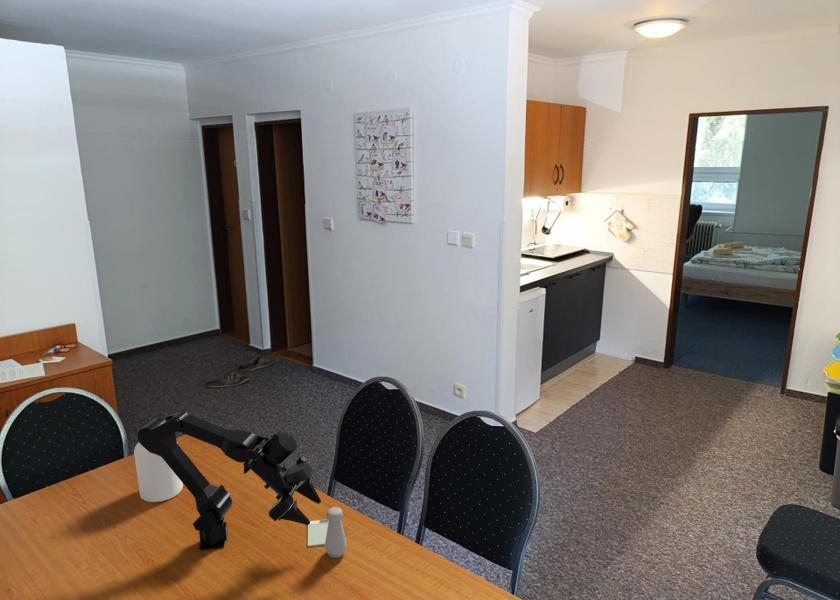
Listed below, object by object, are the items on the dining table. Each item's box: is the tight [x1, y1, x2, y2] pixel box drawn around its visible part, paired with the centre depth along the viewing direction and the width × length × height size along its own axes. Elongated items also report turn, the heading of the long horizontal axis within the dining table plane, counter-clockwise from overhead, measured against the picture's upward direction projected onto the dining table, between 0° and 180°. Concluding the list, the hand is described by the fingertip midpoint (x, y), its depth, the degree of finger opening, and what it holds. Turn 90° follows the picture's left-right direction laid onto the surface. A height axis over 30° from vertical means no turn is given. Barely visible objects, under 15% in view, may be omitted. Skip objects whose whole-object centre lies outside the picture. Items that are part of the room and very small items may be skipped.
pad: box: [307, 518, 328, 548], centre depth 161 cm, size 9×11×1 cm
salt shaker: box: [324, 506, 348, 559], centre depth 151 cm, size 6×6×13 cm
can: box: [133, 442, 184, 503], centre depth 178 cm, size 12×12×20 cm
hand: (314, 512), depth 151 cm, fingers open, 9 cm apart
